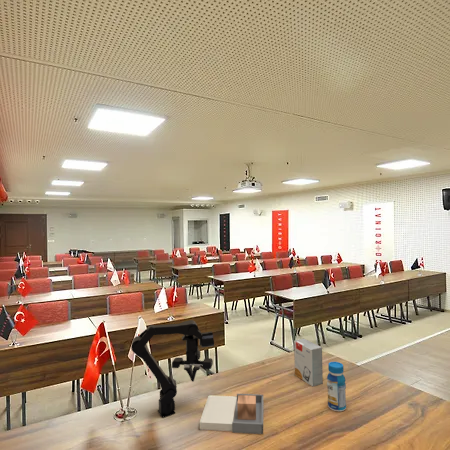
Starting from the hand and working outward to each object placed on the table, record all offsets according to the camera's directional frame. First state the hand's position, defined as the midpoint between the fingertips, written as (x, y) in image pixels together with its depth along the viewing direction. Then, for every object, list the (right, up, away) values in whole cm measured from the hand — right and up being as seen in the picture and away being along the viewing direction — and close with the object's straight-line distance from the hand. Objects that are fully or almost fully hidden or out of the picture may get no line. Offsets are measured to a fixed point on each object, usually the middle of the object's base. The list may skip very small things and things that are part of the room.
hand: (192, 381), depth 153 cm
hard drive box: (+62, -12, +26) cm, 68 cm away
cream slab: (+13, -13, -6) cm, 19 cm away
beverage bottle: (+68, -12, -2) cm, 69 cm away
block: (+21, -8, -7) cm, 24 cm away
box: (+26, -12, -7) cm, 29 cm away
